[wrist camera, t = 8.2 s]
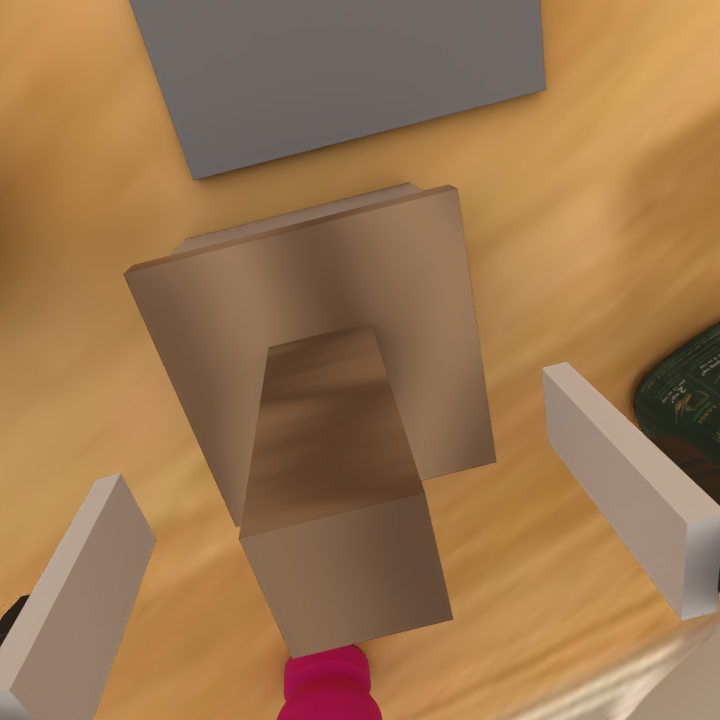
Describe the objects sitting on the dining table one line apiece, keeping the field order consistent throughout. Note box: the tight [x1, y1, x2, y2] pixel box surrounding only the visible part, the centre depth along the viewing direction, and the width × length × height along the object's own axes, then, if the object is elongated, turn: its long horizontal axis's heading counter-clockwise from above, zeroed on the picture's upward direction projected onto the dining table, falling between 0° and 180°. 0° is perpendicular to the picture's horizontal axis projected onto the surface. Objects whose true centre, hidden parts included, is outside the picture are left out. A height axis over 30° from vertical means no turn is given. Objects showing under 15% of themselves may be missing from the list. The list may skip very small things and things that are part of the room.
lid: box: [123, 185, 496, 659], centre depth 17 cm, size 12×12×11 cm
